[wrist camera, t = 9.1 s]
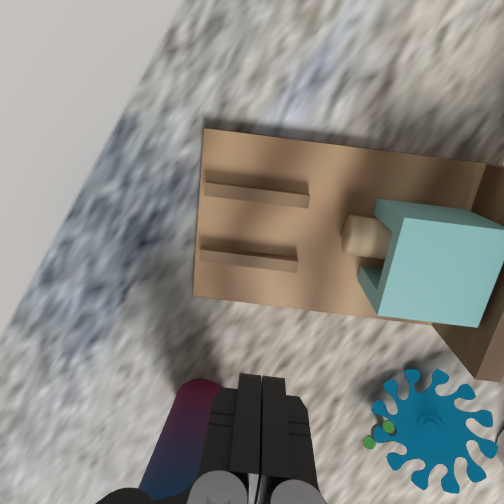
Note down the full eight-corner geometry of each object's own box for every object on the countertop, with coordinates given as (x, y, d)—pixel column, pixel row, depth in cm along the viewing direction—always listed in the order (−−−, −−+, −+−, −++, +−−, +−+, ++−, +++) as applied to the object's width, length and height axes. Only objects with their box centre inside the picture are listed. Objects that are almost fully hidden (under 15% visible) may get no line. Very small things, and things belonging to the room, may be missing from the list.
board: (503, 165, 28) (589, 182, 20) (447, 322, 33) (500, 382, 25) (205, 127, 27) (184, 131, 20) (194, 292, 32) (173, 342, 25)
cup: (165, 370, 35) (100, 536, 21) (234, 372, 35) (214, 540, 21) (170, 424, 38) (115, 605, 24) (235, 426, 38) (218, 609, 24)
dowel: (442, 229, 29) (465, 229, 26) (436, 265, 29) (457, 270, 26) (345, 215, 29) (355, 214, 26) (339, 252, 29) (349, 255, 26)
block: (466, 209, 28) (515, 231, 22) (439, 290, 30) (477, 327, 25) (377, 198, 28) (404, 217, 22) (357, 280, 30) (377, 315, 25)
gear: (469, 356, 32) (523, 489, 28) (461, 361, 37) (506, 474, 33) (346, 380, 35) (377, 503, 31) (354, 382, 40) (382, 487, 36)
